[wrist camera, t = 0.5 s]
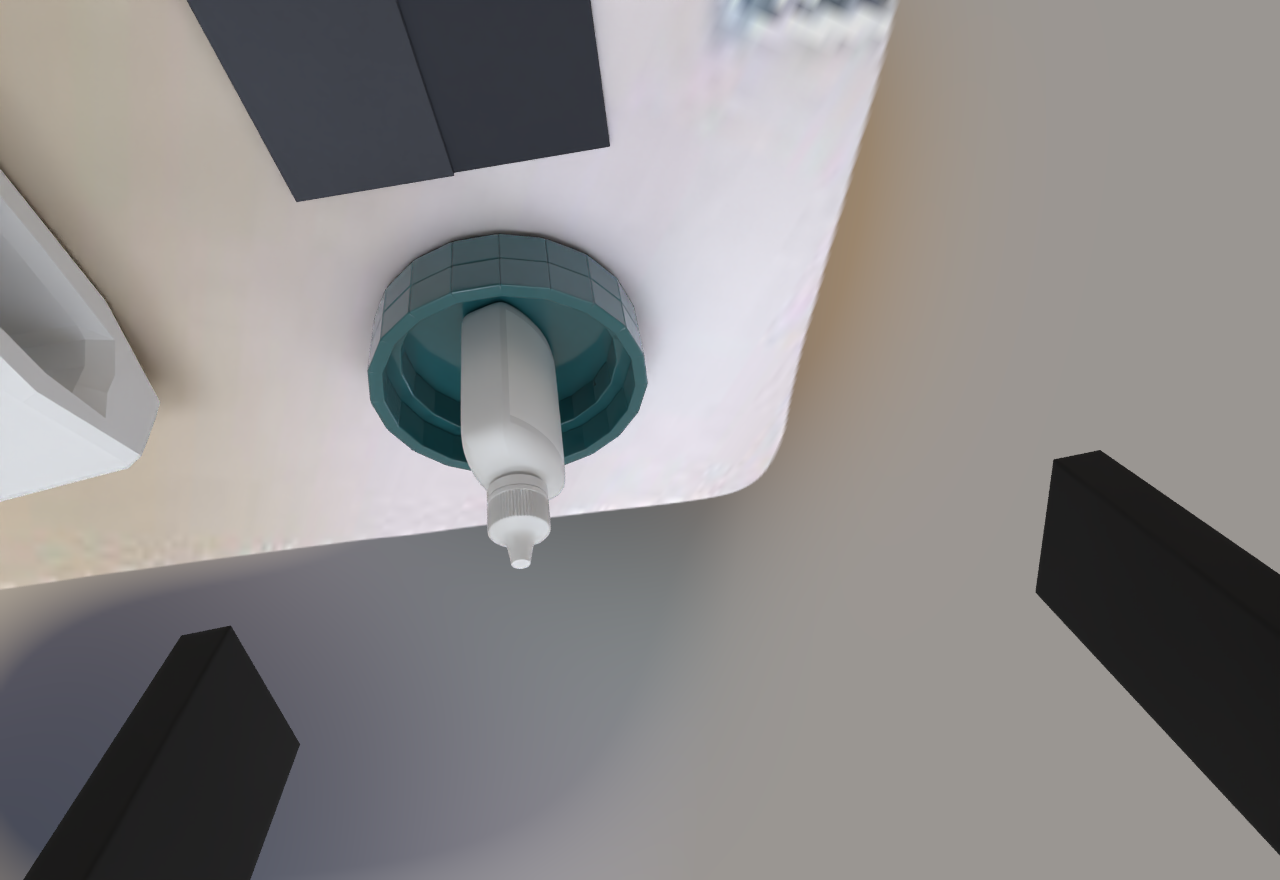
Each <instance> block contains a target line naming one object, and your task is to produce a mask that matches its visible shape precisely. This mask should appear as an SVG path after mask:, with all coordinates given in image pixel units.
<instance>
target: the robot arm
mask: <svg viewBox="0 0 1280 880" xmlns="http://www.w3.org/2000/svg"><path fill="white" fill-rule="evenodd" d="M1036 593H1037V594H1038V595H1039V597H1040V598H1041V599H1042V600H1043V601H1044V602H1045V603H1046V604H1047V605H1048V606H1049V607H1050V608H1051V610H1052V611H1053V612H1054V613H1055V614H1056V615H1057V616H1058V617H1059V618H1060V619H1061V620H1062V621H1063V622H1064V624H1065V625H1066V626H1067V627H1068V628H1069V629H1070V630H1071V631H1072V632H1073V633H1074V634H1075V635H1076V636H1077V637H1078V639H1079V640H1080V641H1081V642H1082V643H1083V644H1084V645H1085V646H1086V647H1087V648H1088V649H1089V650H1090V651H1091V652H1092V654H1093V655H1094V656H1095V657H1096V658H1097V659H1098V660H1099V661H1100V662H1101V663H1102V664H1103V665H1104V667H1105V668H1106V669H1107V670H1108V671H1109V672H1110V673H1111V674H1112V675H1113V676H1114V677H1115V678H1116V679H1117V681H1118V682H1119V683H1120V684H1121V685H1122V686H1123V687H1124V688H1125V689H1126V690H1127V691H1128V692H1129V693H1130V695H1131V696H1132V697H1133V698H1134V699H1135V700H1136V701H1137V702H1138V703H1139V704H1140V705H1141V706H1142V707H1143V709H1144V710H1145V711H1146V712H1147V713H1148V714H1149V715H1150V716H1151V717H1152V718H1153V719H1154V720H1155V721H1156V723H1157V724H1158V725H1159V726H1160V727H1161V728H1162V729H1163V730H1164V731H1165V732H1166V733H1167V734H1168V735H1169V737H1171V739H1172V740H1173V741H1174V742H1175V743H1176V744H1177V745H1178V746H1179V747H1180V748H1181V749H1182V751H1183V752H1184V753H1185V754H1186V755H1187V756H1188V757H1189V758H1190V759H1191V760H1192V761H1193V762H1194V763H1195V764H1196V766H1197V767H1198V768H1199V769H1200V770H1201V771H1202V772H1203V773H1204V774H1205V775H1206V776H1207V777H1208V778H1209V780H1211V782H1212V783H1213V784H1214V785H1215V786H1216V787H1217V788H1218V789H1219V790H1220V791H1221V792H1222V794H1223V795H1224V796H1225V797H1226V798H1227V799H1228V800H1229V801H1230V802H1231V803H1232V804H1233V805H1234V806H1235V808H1237V809H1238V811H1239V812H1240V813H1241V814H1242V815H1243V816H1244V817H1245V818H1246V819H1247V820H1248V821H1249V823H1250V824H1251V825H1252V826H1253V827H1254V828H1255V829H1256V830H1257V831H1258V832H1259V833H1260V834H1261V836H1262V837H1263V838H1264V839H1265V840H1266V841H1267V842H1268V843H1269V844H1270V845H1271V846H1272V847H1273V848H1274V849H1275V851H1277V853H1278V854H1279V855H1280V574H1278V573H1277V572H1275V571H1274V570H1273V569H1271V568H1270V567H1268V566H1267V565H1265V564H1264V563H1262V562H1261V561H1260V560H1258V559H1257V558H1255V557H1254V556H1252V555H1251V554H1249V553H1248V552H1247V551H1245V550H1244V549H1242V548H1241V547H1239V546H1238V545H1236V544H1235V543H1233V542H1232V541H1231V540H1229V539H1228V538H1226V537H1225V536H1223V535H1222V534H1221V533H1219V532H1218V531H1216V530H1215V529H1213V528H1212V527H1210V526H1209V525H1207V524H1206V523H1205V522H1203V521H1202V520H1200V519H1199V518H1197V517H1196V516H1195V515H1193V514H1192V513H1190V512H1189V511H1187V510H1186V509H1184V508H1183V507H1182V506H1180V505H1179V504H1177V503H1176V502H1174V501H1173V500H1171V499H1170V498H1169V497H1167V496H1166V495H1164V494H1163V493H1161V492H1160V491H1158V490H1157V489H1156V488H1154V487H1153V486H1151V485H1150V484H1148V483H1147V482H1145V481H1144V480H1143V479H1141V478H1140V477H1138V476H1137V475H1135V474H1134V473H1132V472H1131V471H1130V470H1128V469H1127V468H1125V467H1124V466H1122V465H1121V464H1119V463H1118V462H1116V461H1115V460H1114V459H1112V458H1111V457H1109V456H1108V455H1106V454H1105V453H1103V452H1102V451H1101V450H1098V451H1094V452H1089V453H1084V454H1079V455H1074V456H1069V457H1064V458H1059V459H1054V460H1053V468H1052V475H1051V482H1050V490H1049V497H1048V505H1047V512H1046V519H1045V526H1044V534H1043V541H1042V548H1041V556H1040V563H1039V571H1038V578H1037V585H1036ZM299 746H300V743H299V742H298V740H297V738H296V737H295V735H294V733H293V731H292V730H291V728H290V726H289V725H288V723H287V721H286V720H285V718H284V716H283V714H282V713H281V711H280V709H279V707H278V706H277V704H276V702H275V701H274V699H273V697H272V696H271V694H270V692H269V690H268V689H267V687H266V685H265V684H264V682H263V680H262V678H261V677H260V675H259V673H258V671H257V670H256V669H255V666H254V665H253V663H252V661H251V659H250V658H249V656H248V654H247V653H246V651H245V649H244V648H243V646H242V644H241V642H240V641H239V639H238V637H237V635H236V634H235V632H234V630H233V629H232V627H231V626H227V627H222V628H217V629H212V630H207V631H203V632H197V633H192V634H187V635H182V636H181V637H180V639H179V640H178V642H177V643H176V645H175V646H174V648H173V649H172V651H171V652H170V654H169V656H168V657H167V659H166V660H165V662H164V663H163V665H162V666H161V668H160V669H159V671H158V672H157V674H156V676H155V677H154V679H153V680H152V682H151V683H150V685H149V687H148V688H147V690H146V691H145V693H144V694H143V696H142V697H141V699H140V700H139V702H138V703H137V705H136V706H135V708H134V710H133V711H132V713H131V714H130V716H129V717H128V719H127V720H126V722H125V723H124V725H123V727H122V728H121V730H120V731H119V733H118V734H117V736H116V737H115V739H114V741H113V742H112V744H111V745H110V747H109V748H108V750H107V751H106V753H105V754H104V756H103V757H102V759H101V761H100V762H99V764H98V765H97V767H96V768H95V770H94V771H93V773H92V774H91V776H90V778H89V779H88V781H87V782H86V784H85V785H84V787H83V789H82V790H81V792H80V793H79V795H78V796H77V798H76V799H75V801H74V802H73V804H72V805H71V807H70V808H69V810H68V812H67V813H66V815H65V816H64V818H63V820H62V821H61V822H60V824H59V825H58V827H57V829H56V830H55V832H54V833H53V835H52V837H51V838H50V839H49V841H48V843H47V844H46V846H45V847H44V849H43V850H42V852H41V853H40V855H39V857H38V858H37V859H36V861H35V863H34V864H33V866H32V867H31V869H30V870H29V872H28V873H27V875H26V876H25V878H24V880H250V878H251V876H252V873H253V871H254V868H255V865H256V862H257V860H258V857H259V854H260V851H261V849H262V846H263V843H264V841H265V838H266V835H267V832H268V830H269V827H270V824H271V822H272V819H273V816H274V814H275V811H276V808H277V805H278V803H279V800H280V797H281V794H282V792H283V789H284V786H285V784H286V781H287V778H288V775H289V773H290V770H291V767H292V765H293V762H294V759H295V756H296V754H297V751H298V748H299Z"/></svg>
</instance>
